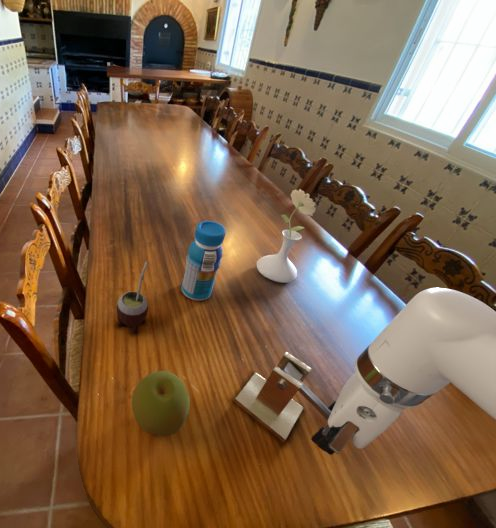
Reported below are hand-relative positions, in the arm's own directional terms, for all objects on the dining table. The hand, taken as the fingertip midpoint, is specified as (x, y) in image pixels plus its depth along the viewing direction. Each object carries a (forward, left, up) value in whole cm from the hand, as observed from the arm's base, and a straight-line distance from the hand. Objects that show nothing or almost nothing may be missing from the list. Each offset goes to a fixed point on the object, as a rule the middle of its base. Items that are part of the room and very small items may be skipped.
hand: (327, 431), depth 49 cm
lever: (+4, -3, +4) cm, 6 cm away
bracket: (+8, -5, -5) cm, 10 cm away
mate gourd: (+38, -18, -5) cm, 42 cm away
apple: (+28, +2, -5) cm, 28 cm away
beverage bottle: (+24, -33, -5) cm, 41 cm away
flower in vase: (+2, -48, -5) cm, 48 cm away
